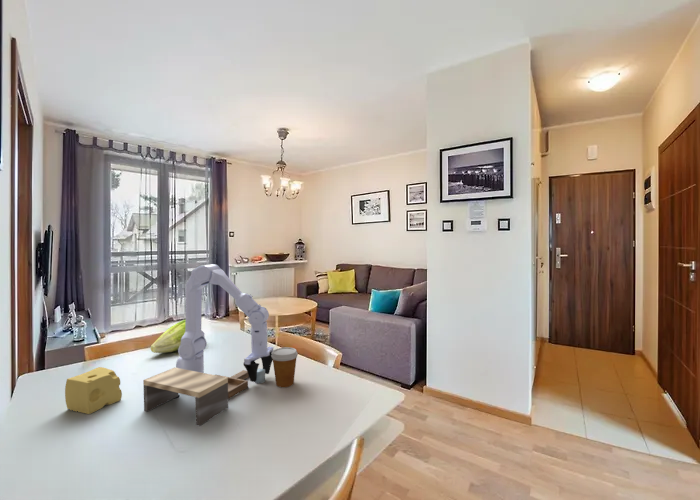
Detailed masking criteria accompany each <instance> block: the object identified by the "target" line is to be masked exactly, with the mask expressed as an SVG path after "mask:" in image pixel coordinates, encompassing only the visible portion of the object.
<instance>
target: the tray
mask: <svg viewBox="0 0 700 500" xmlns="http://www.w3.org/2000/svg"><path fill="white" fill-rule="evenodd" d="M216 375H217V376H222V377H227V378H228V400H230V399H231V398H233V397H235V396H237V395H238V394H239V393H241V392H243V391H245V390H246V389H249V381H248V380H245V379H248V378H249V374H248V372H247V370H244V369H243V370H241V371H239V372H237V373H235V374H234V375H231V376H226V375H225V376H224V375H220V374H216Z"/></svg>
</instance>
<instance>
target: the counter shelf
mask: <svg viewBox="0 0 700 500" xmlns="http://www.w3.org/2000/svg"><path fill="white" fill-rule="evenodd" d="M217 375H218V374H210V373H206V372H204V373H201V372H196V371H191V370H185V369H180V368H176V367H172V368H169V369H167V370H165V371H162V372H160V373H157V374H155V375H152V376H150V377H148V378H144V379H143V410H144V411H145V412H149V411H151V410H153V409H156V408H158V407H160V406H161V405H164V404H165V403H167V402H170V401H172V400H174V399H176V398H177V397H179V394H182V395H186V396H190V397H194V398H195V399H194V400H195V402H194V403H195V405H194V406H195V426H199V427H200V426H202V425H204V424H205V423H207V422H208V421H210V420H212V419H214V417H216V416H218V415H219V414H220V413H222V412H224V411H226V410H228V409H229V399H228V378H227V377H228V376H226V377H222V376H223V375H220V376H217Z"/></svg>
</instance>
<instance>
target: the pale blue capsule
mask: <svg viewBox="0 0 700 500" xmlns="http://www.w3.org/2000/svg"><path fill="white" fill-rule="evenodd" d="M265 382H266V374H265V369H263V368H258V369H257V379H256V382H254V384H262V383H263V384H264V383H265Z"/></svg>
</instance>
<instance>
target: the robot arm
mask: <svg viewBox="0 0 700 500" xmlns="http://www.w3.org/2000/svg"><path fill="white" fill-rule="evenodd" d="M190 272H191V275H190V276H189V278H188V280H187V281H186V284H185V320H186V325H185V333H184V335H183V337H182V338H181V344H180V346H179V348H178V350H177V352H178V355H179V357H178V358H177V360H176V362H175V368H180V369H185V370H191V371H196V372H201V373H205V365H204V363H205V361H204V350H205V349H206V348H207V346H208V342H207V339H206V338H205V332H204V331H203V330H202V306H203V305H202V302H203V301H202V300H203V297H202V295H203V288H205V287H206V286H207V285H208V284H209V285H210V284H211V285H217V286H219V287H221V288H222V289H223V290H224V291H225V292H227V293H228V294H229V296H231V298H233V299H234V301H235V306H237V307H238V308H239V309H240V310H241V312H242V313H243V314H244V315H245V316H246V317H248V319H247V320H248V322H249V324H250V325H251V330H250V335H251V337H250V338H251V352H250V353H249V355H247V356H246V357H245V358H243V359H244V360H243V367H244V368H245V369H246V370H245V371H247V372H248V374H249V377H248V378H249V380H250V382H253V383H255V382H256V379H257V369H259V366H260V363H257V362H256V360H257V361H258V360H259V359H260V360H261V365H262V369H265V375H269V374H270V370H271V368H272V367H271V366H272V364H273V359H272V357H271V355H272V352H273V351H274V347H273V346H268V321H267V320H269V317H270V313H269V311H268V309H267V308H266V307H264V306H262V305H261V304H258V302H257V301H256V300H254V298H253V295H252V294H248V293H247V292H246V293H244V292H242V291H241V290H240V289H239V288H238V287H237V285H236V284H235V283H234V282H233V281H232V279H230V277H229V276H228V275H227V273H226V272H225V270H223V269H222V268H221V267H220V266H219V265H218V264H214V263H211V264H205V265H203V264H201V265H198V266H196V267H195V268H194V269H192V270H191V271H190Z"/></svg>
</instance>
